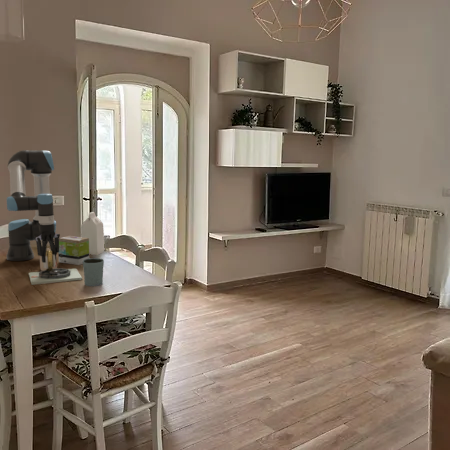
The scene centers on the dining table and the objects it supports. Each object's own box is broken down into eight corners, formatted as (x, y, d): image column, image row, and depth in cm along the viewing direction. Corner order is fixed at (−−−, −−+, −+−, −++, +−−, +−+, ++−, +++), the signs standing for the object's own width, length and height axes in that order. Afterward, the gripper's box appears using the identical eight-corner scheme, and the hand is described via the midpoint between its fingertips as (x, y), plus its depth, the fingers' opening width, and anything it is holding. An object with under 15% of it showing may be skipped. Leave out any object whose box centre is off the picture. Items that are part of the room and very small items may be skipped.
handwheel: (75, 275, 243) (74, 253, 241) (46, 280, 233) (45, 258, 231) (62, 268, 255) (61, 248, 253) (34, 273, 245) (33, 252, 243)
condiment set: (56, 270, 257) (56, 250, 255) (39, 271, 254) (38, 250, 252) (58, 265, 268) (57, 245, 266) (41, 266, 266) (40, 246, 264)
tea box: (58, 262, 275) (57, 238, 272) (69, 259, 284) (68, 235, 282) (78, 265, 269) (78, 240, 267) (90, 261, 278) (89, 237, 276)
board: (28, 274, 247) (28, 272, 247) (76, 270, 258) (75, 268, 258) (31, 284, 230) (31, 282, 229) (82, 279, 240) (82, 277, 240)
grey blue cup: (96, 280, 240) (95, 257, 238) (108, 283, 234) (108, 260, 232) (79, 284, 232) (78, 260, 230) (91, 288, 226) (90, 263, 224)
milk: (88, 250, 310) (87, 211, 306) (104, 250, 309) (104, 211, 304) (80, 254, 298) (79, 213, 294) (97, 254, 297) (96, 214, 293)
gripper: (36, 226, 235) (39, 271, 239) (65, 222, 249) (67, 265, 253) (27, 225, 240) (30, 269, 243) (56, 220, 253) (59, 263, 257)
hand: (49, 267), depth 248 cm, fingers open, 4 cm apart
